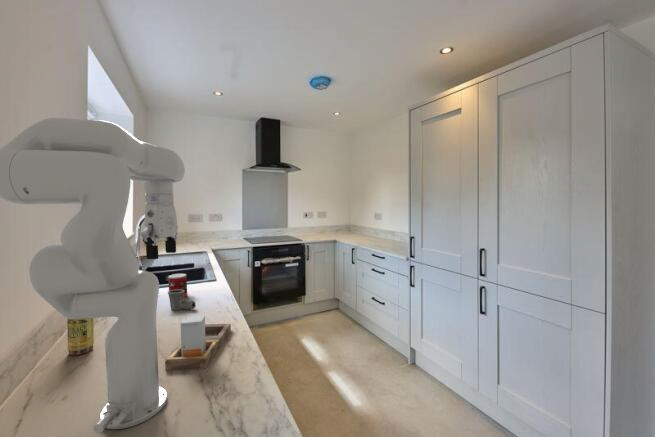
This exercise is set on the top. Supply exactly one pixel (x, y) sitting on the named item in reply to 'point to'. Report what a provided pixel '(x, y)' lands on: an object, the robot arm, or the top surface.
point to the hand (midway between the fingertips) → (162, 255)
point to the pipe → (179, 300)
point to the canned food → (178, 282)
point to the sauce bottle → (80, 335)
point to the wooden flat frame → (211, 348)
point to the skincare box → (193, 337)
